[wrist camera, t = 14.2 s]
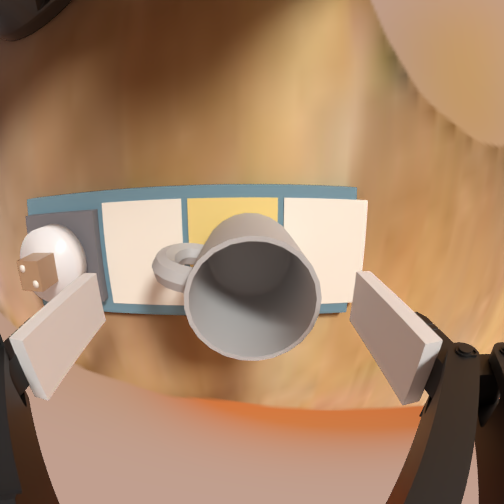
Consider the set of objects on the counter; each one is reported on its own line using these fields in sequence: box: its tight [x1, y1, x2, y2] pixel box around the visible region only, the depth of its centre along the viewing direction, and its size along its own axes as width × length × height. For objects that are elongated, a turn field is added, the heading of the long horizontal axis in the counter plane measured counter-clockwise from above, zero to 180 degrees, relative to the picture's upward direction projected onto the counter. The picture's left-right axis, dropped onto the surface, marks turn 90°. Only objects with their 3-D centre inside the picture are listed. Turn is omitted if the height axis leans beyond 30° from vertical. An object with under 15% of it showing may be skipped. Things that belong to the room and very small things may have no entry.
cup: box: [152, 213, 322, 361], centre depth 19 cm, size 7×10×9 cm
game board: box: [26, 184, 368, 315], centre depth 24 cm, size 11×31×2 cm, turn 90°
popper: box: [17, 224, 87, 302], centre depth 20 cm, size 6×6×4 cm
